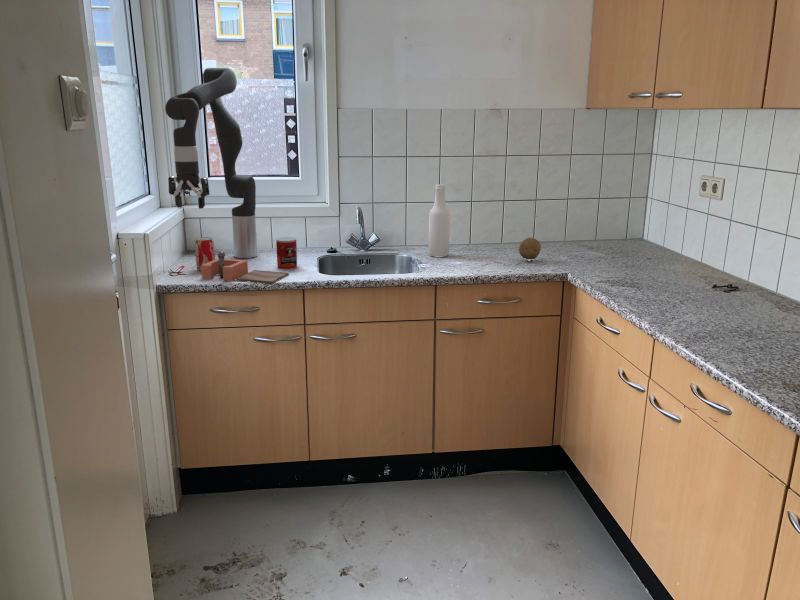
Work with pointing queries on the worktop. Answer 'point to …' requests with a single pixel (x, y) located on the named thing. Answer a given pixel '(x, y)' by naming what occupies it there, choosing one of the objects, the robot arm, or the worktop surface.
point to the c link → (225, 269)
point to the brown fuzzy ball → (529, 248)
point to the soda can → (204, 251)
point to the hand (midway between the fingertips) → (190, 207)
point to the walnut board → (262, 276)
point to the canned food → (286, 252)
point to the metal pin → (221, 262)
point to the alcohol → (439, 225)
